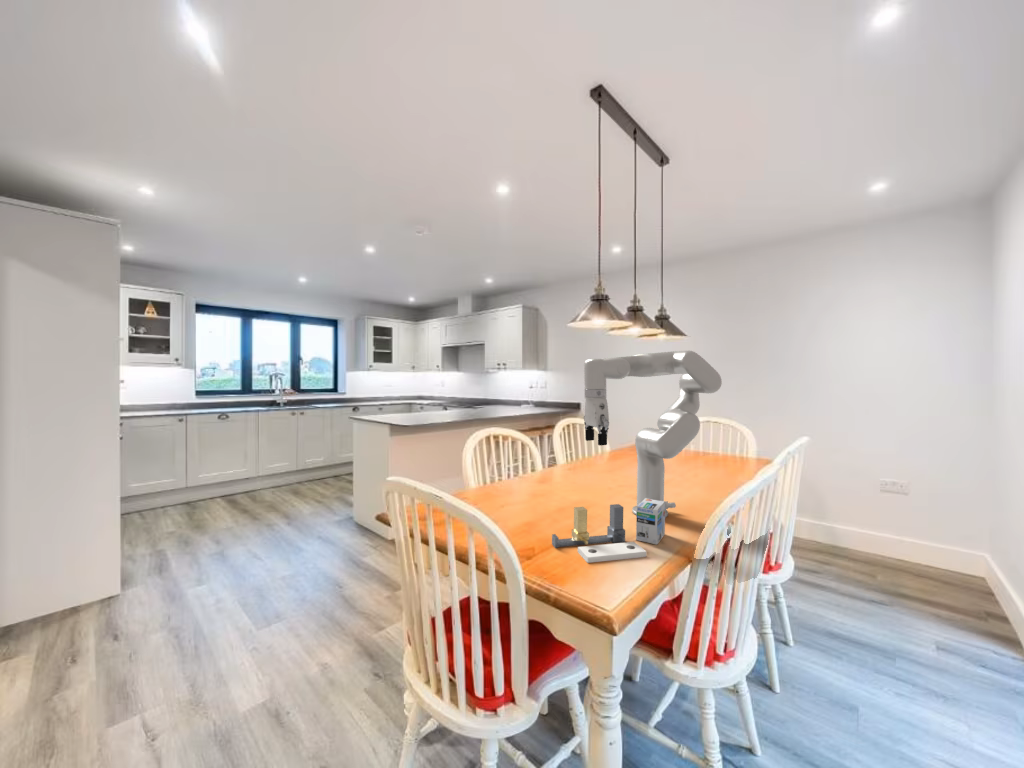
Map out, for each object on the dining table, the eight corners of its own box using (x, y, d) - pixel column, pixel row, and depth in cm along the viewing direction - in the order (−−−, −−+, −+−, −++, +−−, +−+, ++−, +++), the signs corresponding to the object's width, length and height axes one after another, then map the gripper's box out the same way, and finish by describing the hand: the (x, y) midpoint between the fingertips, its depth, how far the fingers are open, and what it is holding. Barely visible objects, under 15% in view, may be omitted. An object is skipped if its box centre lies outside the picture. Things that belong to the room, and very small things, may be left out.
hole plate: (633, 546, 127) (633, 541, 127) (646, 556, 121) (646, 551, 121) (577, 552, 123) (577, 546, 123) (587, 562, 116) (587, 557, 116)
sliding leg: (583, 534, 132) (584, 506, 131) (593, 543, 125) (593, 513, 125) (571, 535, 131) (572, 506, 130) (580, 545, 124) (580, 514, 124)
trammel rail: (618, 537, 135) (619, 503, 134) (629, 546, 128) (630, 510, 127) (551, 543, 129) (551, 508, 129) (559, 553, 122) (559, 516, 122)
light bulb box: (657, 545, 129) (658, 510, 128) (635, 540, 132) (635, 506, 132) (665, 534, 138) (666, 501, 137) (644, 529, 141) (644, 497, 141)
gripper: (617, 395, 141) (618, 446, 142) (594, 392, 158) (594, 438, 158) (597, 396, 139) (597, 447, 140) (575, 393, 156) (576, 439, 156)
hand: (596, 442), depth 149 cm, fingers open, 9 cm apart
